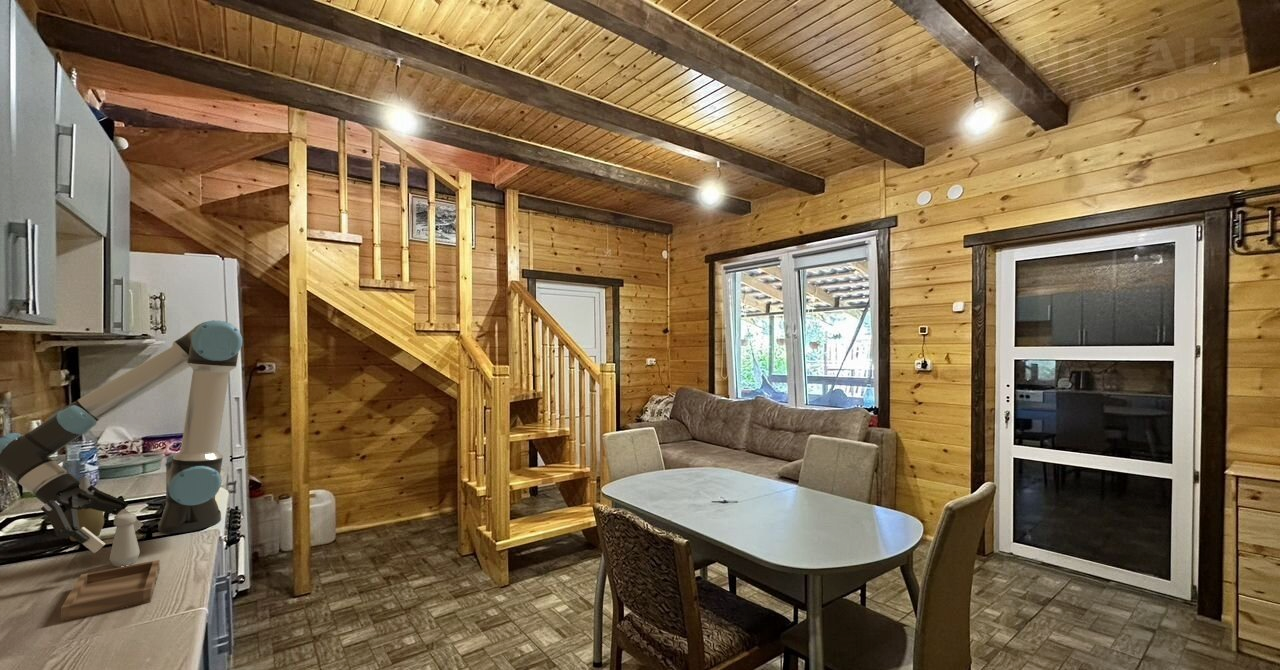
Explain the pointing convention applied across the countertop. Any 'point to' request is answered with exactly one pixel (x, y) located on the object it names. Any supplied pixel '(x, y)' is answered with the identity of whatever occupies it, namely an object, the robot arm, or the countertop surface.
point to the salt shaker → (124, 541)
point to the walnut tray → (111, 590)
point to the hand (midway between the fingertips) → (120, 538)
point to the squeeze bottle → (89, 515)
